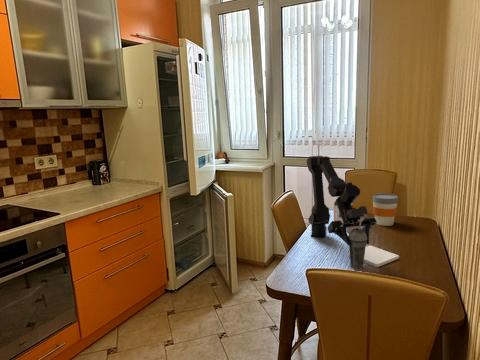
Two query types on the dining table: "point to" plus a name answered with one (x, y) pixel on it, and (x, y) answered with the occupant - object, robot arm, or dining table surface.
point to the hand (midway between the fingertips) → (359, 244)
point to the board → (377, 256)
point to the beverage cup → (357, 247)
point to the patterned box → (336, 217)
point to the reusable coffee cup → (385, 208)
